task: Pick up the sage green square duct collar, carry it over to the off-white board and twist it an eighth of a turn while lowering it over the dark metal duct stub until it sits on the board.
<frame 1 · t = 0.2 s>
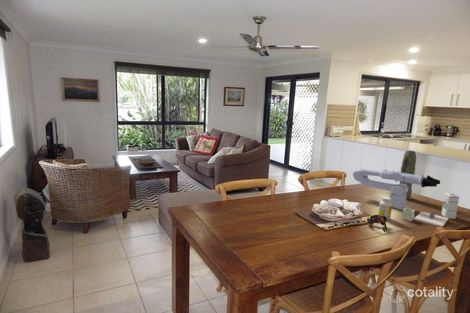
hand: (438, 183, 173), 21 cm above the table, tool horizontal, fingers open, 7 cm apart
supplement bottle: (383, 218, 171), on the table
duct collar: (407, 219, 171), on the table
brown animal figurine: (377, 227, 159), on the table
thermos: (403, 197, 211), on the table
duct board: (431, 219, 172), on the table
syrup box: (447, 217, 177), on the table
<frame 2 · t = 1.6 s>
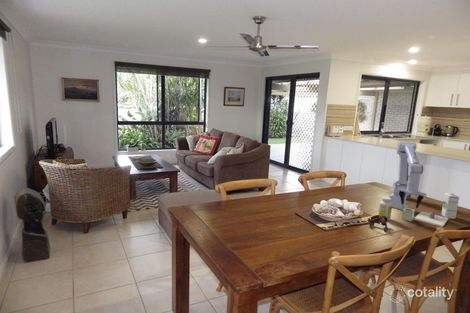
hand: (409, 205, 170), 8 cm above the table, tool pointing down, fingers open, 7 cm apart
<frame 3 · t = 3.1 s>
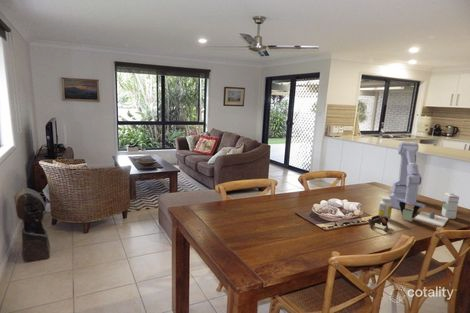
hand: (407, 216, 171), 2 cm above the table, tool pointing down, fingers closed on duct collar, 5 cm apart
duct collar: (407, 219, 171), on the table, touching gripper
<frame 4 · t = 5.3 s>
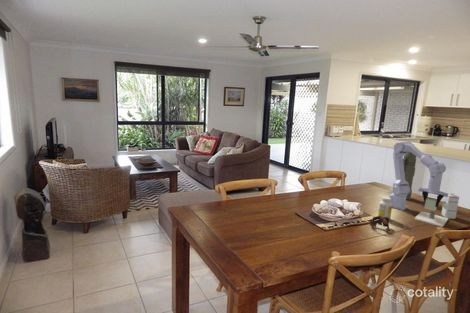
hand: (430, 205, 170), 9 cm above the table, tool pointing down, fingers closed on duct collar, 5 cm apart
duct collar: (430, 208, 170), point 7 cm above the table, touching gripper
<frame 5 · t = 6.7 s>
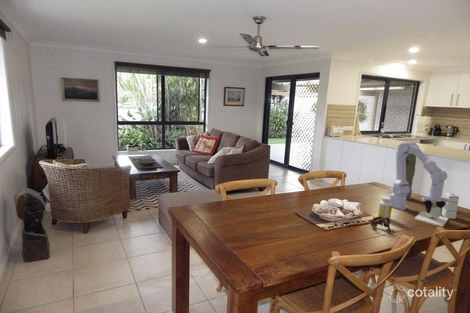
hand: (432, 212, 171), 4 cm above the table, tool pointing down, fingers closed on duct collar, 5 cm apart
duct collar: (432, 215, 171), point 2 cm above the table, touching gripper
when the fingers open (4 cm above the table, at t = 7.7 s): duct collar drops 1 cm, resting on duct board.
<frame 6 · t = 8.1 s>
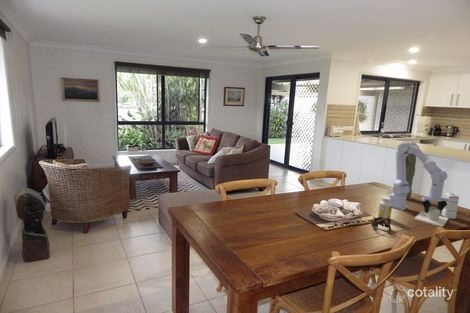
hand: (432, 212, 171), 4 cm above the table, tool pointing down, fingers open, 7 cm apart
duct collar: (431, 218, 172), point 1 cm above the table, touching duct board
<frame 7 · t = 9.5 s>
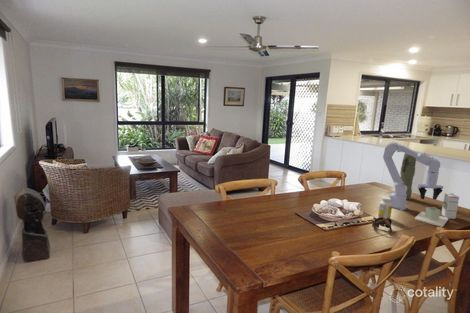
hand: (428, 199, 180), 9 cm above the table, tool pointing down, fingers open, 7 cm apart
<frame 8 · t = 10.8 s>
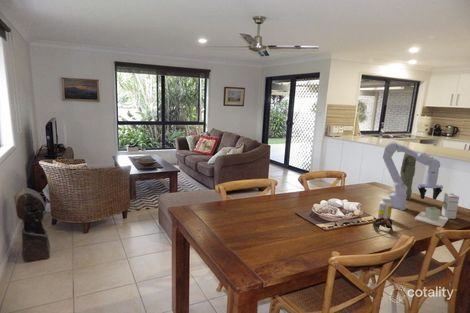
hand: (428, 199, 180), 9 cm above the table, tool pointing down, fingers open, 7 cm apart
at the end: duct collar 0.0 cm off-centre on the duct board, point 1.0 cm above the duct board's base; duct collar tilted 0°; the gripper is holding nothing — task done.
